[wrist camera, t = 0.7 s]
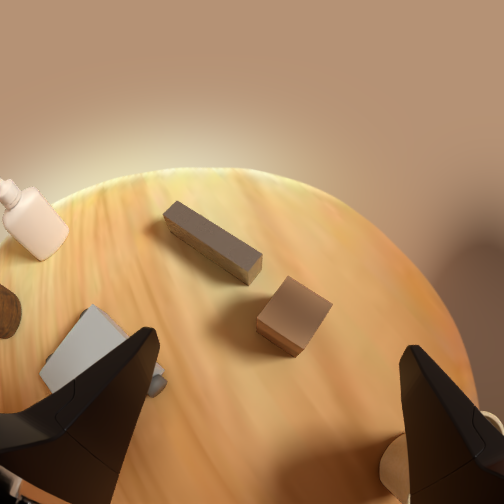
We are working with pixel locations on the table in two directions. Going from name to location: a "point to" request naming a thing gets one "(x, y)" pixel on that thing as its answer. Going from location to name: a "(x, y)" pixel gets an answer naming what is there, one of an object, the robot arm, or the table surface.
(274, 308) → the block
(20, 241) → the eye dropper bottle
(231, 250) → the buffer
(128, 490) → the table surface
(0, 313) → the utensil holder
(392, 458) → the flower pot
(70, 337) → the cart
